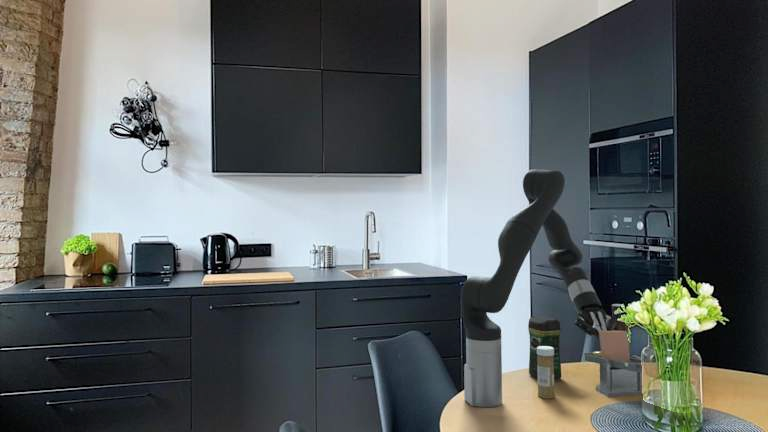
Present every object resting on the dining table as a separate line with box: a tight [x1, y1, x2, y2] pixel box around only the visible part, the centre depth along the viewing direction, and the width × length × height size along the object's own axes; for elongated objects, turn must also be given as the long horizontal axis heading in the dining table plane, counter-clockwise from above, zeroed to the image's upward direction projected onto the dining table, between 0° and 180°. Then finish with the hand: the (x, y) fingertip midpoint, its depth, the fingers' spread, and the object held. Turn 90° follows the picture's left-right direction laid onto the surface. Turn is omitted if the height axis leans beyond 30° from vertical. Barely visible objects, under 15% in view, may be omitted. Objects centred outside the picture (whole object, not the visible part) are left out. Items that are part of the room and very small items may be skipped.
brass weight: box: [592, 350, 601, 357], centre depth 166 cm, size 4×4×2 cm
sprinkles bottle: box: [537, 346, 556, 400], centre depth 154 cm, size 5×5×14 cm
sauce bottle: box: [611, 303, 631, 356], centre depth 185 cm, size 6×6×20 cm
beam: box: [584, 352, 642, 372], centre depth 157 cm, size 8×26×2 cm, turn 10°
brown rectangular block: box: [599, 331, 631, 361], centre depth 160 cm, size 5×6×8 cm
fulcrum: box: [595, 355, 643, 398], centre depth 156 cm, size 12×6×10 cm, turn 100°
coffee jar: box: [527, 315, 562, 382], centre depth 172 cm, size 10×8×19 cm
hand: (606, 345), depth 163 cm, fingers closed
